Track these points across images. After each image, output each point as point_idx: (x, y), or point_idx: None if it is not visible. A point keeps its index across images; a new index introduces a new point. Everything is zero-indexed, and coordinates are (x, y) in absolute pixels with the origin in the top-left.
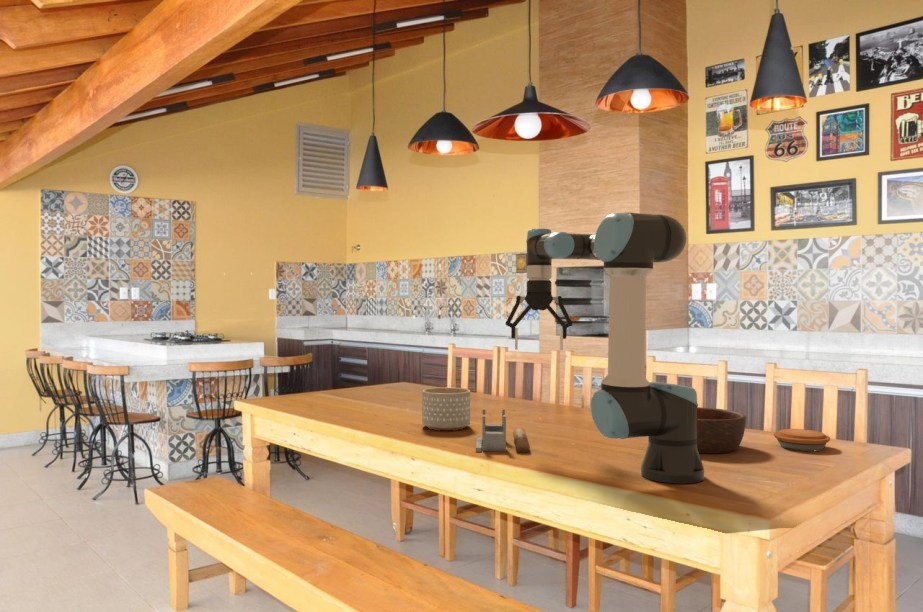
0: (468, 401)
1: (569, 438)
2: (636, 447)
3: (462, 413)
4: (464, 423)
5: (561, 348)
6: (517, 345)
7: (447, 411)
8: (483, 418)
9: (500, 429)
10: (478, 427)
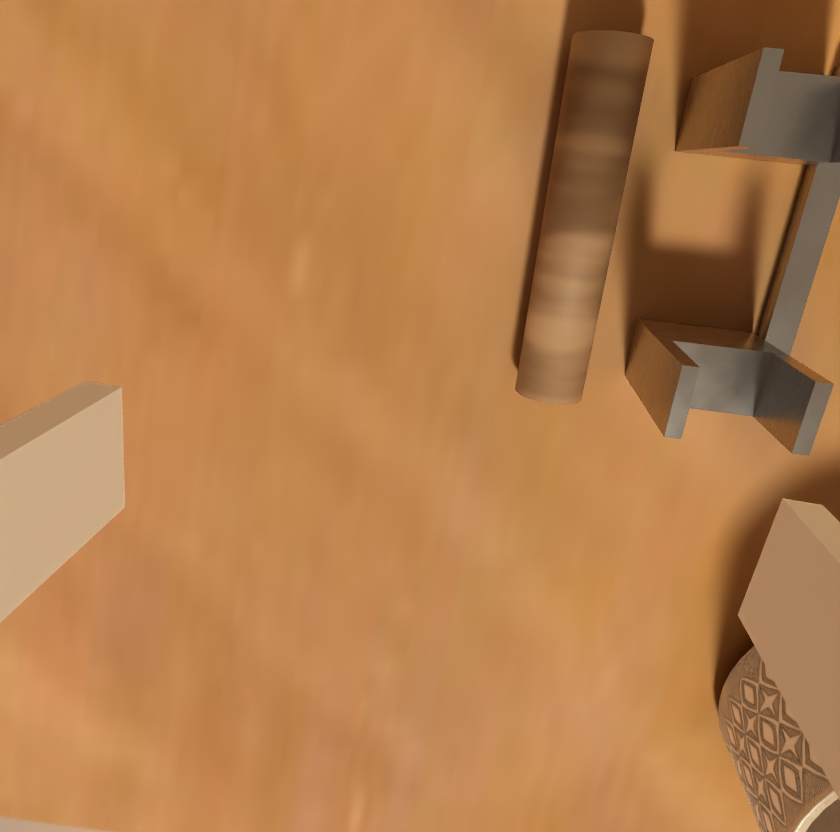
0: (789, 754)
1: (297, 392)
2: (7, 153)
3: None
4: None
5: (90, 389)
6: (813, 534)
7: None
8: None
9: (677, 337)
10: (675, 673)
